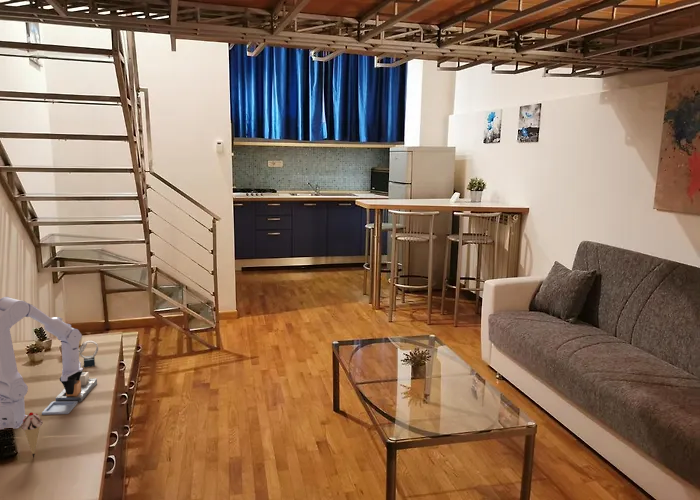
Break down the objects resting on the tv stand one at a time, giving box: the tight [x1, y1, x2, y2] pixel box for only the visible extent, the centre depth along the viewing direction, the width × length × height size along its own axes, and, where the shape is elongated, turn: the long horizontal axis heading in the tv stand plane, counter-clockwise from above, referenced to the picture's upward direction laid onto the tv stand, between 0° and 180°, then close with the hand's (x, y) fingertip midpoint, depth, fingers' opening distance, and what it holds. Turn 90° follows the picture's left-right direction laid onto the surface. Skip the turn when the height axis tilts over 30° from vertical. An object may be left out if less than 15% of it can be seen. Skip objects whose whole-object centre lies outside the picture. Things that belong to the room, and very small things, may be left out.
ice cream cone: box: [20, 412, 44, 458], centre depth 161 cm, size 6×6×15 cm
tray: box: [41, 400, 79, 416], centre depth 193 cm, size 9×9×1 cm
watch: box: [79, 339, 99, 368], centre depth 236 cm, size 6×8×11 cm
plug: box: [66, 381, 81, 396], centre depth 202 cm, size 4×4×6 cm
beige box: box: [79, 371, 90, 385], centre depth 212 cm, size 4×4×6 cm
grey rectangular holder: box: [55, 377, 98, 403], centre depth 207 cm, size 18×9×2 cm, turn 8°
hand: (72, 391), depth 202 cm, fingers closed on plug, 4 cm apart
